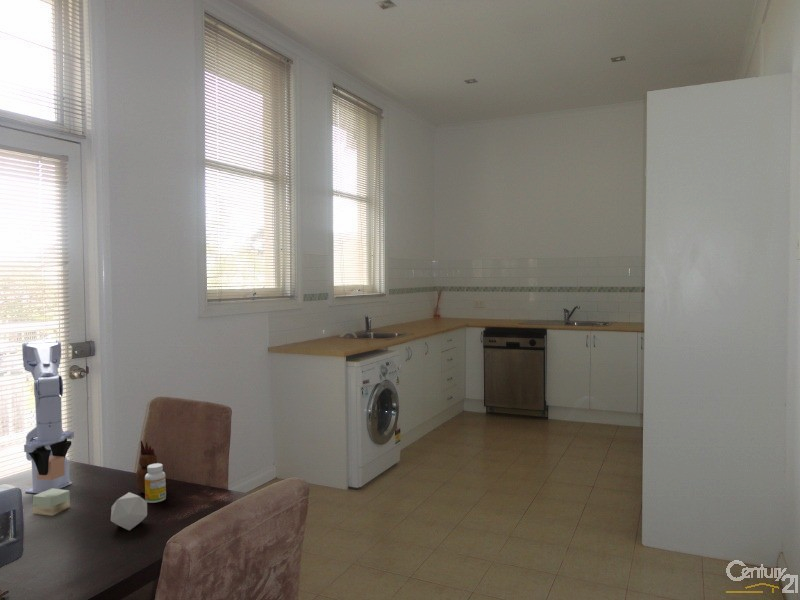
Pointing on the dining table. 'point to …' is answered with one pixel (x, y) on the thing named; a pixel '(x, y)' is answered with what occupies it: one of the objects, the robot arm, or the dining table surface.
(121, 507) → the die
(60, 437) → the robot arm
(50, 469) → the terracotta block
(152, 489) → the supplement bottle
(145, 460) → the wooden figurine
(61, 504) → the tower base block
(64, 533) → the dining table surface
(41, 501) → the tower top block
